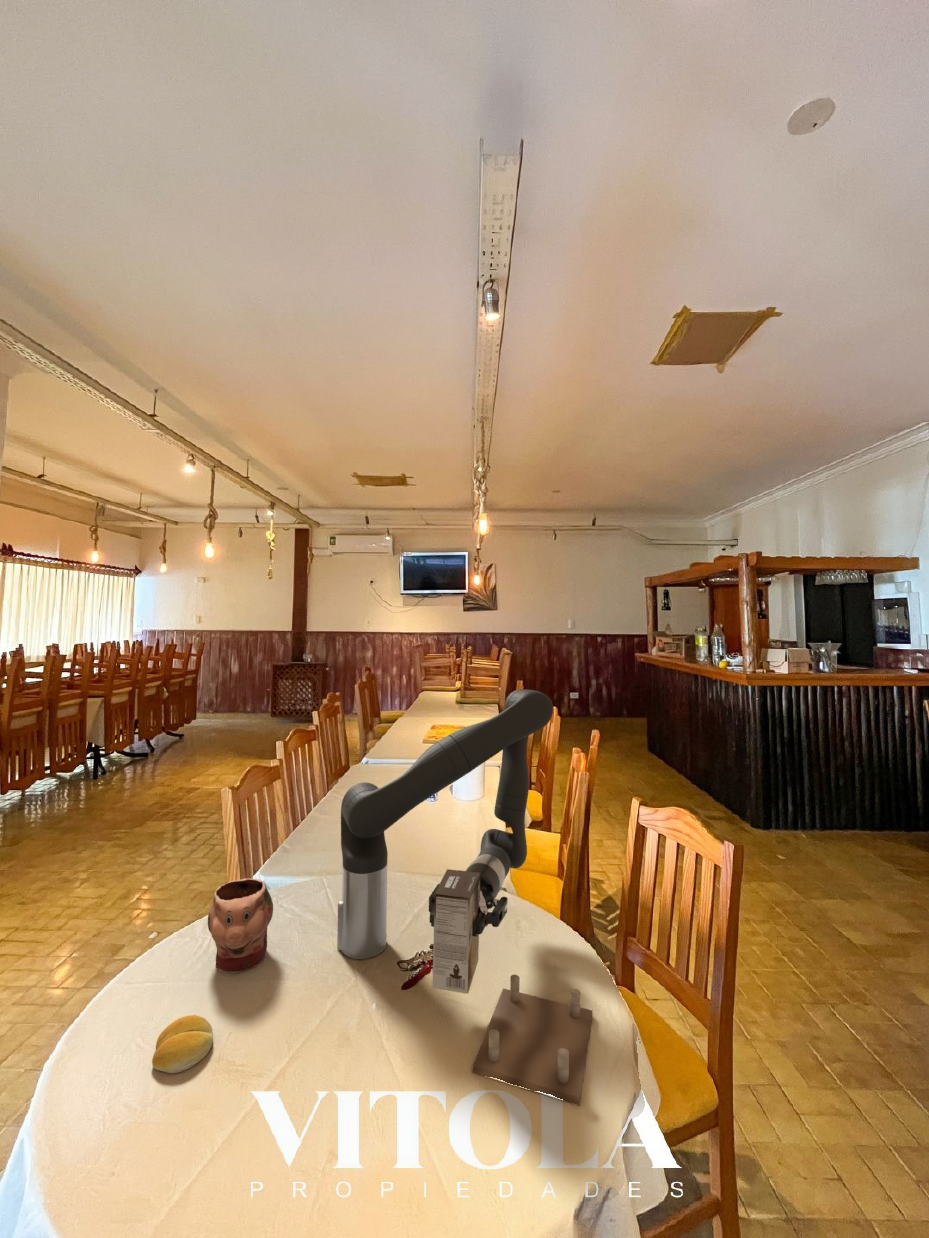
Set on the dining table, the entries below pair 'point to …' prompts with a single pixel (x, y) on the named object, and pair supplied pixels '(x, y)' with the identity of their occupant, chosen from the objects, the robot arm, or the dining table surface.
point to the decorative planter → (240, 924)
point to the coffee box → (455, 930)
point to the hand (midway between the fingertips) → (453, 926)
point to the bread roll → (182, 1044)
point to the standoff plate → (537, 1043)
